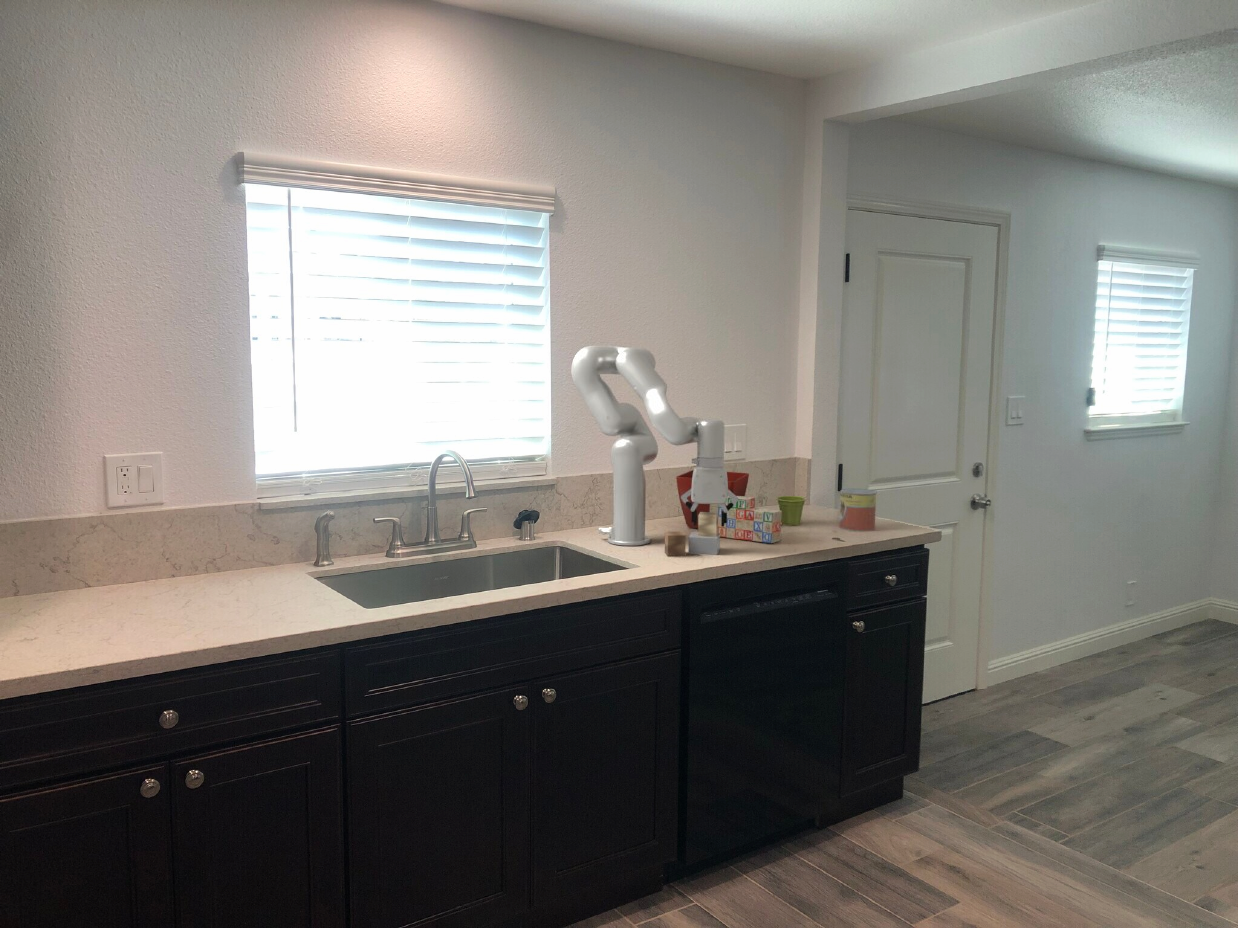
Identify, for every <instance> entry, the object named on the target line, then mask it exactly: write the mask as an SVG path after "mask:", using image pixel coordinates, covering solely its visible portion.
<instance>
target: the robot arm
mask: <svg viewBox="0 0 1238 928" xmlns="http://www.w3.org/2000/svg"><path fill="white" fill-rule="evenodd" d="M570 368H571V369H570V371H571V378H572V380H573V381H572V382H573V384H574V386H575V387H576V389H577V391H578V393H579V395H580V396H581V397H582V399H583V400H584V402H585V404H586V407H587V409H588V410H589V412H590V414H591V415H592V417H593V419H594V421H595V423H596V424H597V426H598V429H600V431H601V433H603V434H604V435H606V436H608V437H609V436H610V437H617V436H620V438H617V440H615V442H614V443H613V444H612V447H611V450H610V460H611V461H610V462H611V467H612V478H613V487H612V488H613V489H612V490H613V492H612V493H613V497H612V498H613V504H612V505H613V513H612V515H613V516H612V517H613V518H612V519H613V520H612V523H613V524H612V526H609V527H606V526H599V527H598V534H601V535H608V537H607V542H608V543H609V544H612V545H617V546H628V547H630V546H631V547H634V546H636V547H637V546H643V545H647V544H649V543H650V542H651V537H650V536H648V535H646V497H647V495H646V494H647V493H646V491H647V490H646V488H647V485H646V484H647V483H646V474H645V471H644V470H645V469H644V466H645V465H648V464H651V463H653V462H654V461H655V460H656V458H657V457H658V454H659V445H658V441H657V439H656V438H655V436H654V434H653V431H652V430H651V429H650V427H649V425H648V423H647V422H646V420H645V418H644V416H643V415H642V414H641V412H640V410H639V409H638V408H637V407H635V406H634V405H633V404H632V403H628V402H619V401H618V400H617V398H616V396H615V394H614V393H613V390H612V389H611V387H610V386H609V385H608V384H607V383H606V382H605V380H604V379H603V378H602V376H601V375H620V376H621V377H622V378H623V379H624V380H625V382H626V383H627V384H628V385H629V386H630V388H631V389H632V391H634V392H635V394H636V395H637V396H638V398H639V399H640V400H641V401H642V403H643V405H644V409H645V412H646V414H647V417H648V419H649V421H650V422H651V424H652V425H653V427H654V428H655V429H656V430H657V431H658V434H660V435H661V437H662V438H663V439H664V440H665V441H666V442H668V443H669V444H671V445H673V446H677V447H678V446H683V445H688V444H694V443H696V452H697V453H696V457H695V458H691V464H695V465H696V466H694V468H693V470H694V471H693V477H692V488H691V489H690V490H689V491H687V492H686V493H685V494H683V495H682V496H681V499H682V500H683V502H684V503H685V504H686V506H687V507H688V508H689V509H690V510H691V511H692V522H694V526H696V525H697V510H696V507H697V505H698V504H720V506H721V507H722V509H723V510H722V517H721V526H722V527H724V523H727V512H728V511H729V510H730V509H731V508H732V507H733V506H734V505H735V503H736V502H737V501H738V497H737V496H736V495H734V494H733V493H732V492H731V491H730V490H728V480H727V472H728V471H727V468H726V467H724V464H725V463H724V462H725V461H724V460H725V458H724V457H725V422H724V421H723V420H722V419H720V418H719V419H716V418H698V417H694V416H685V417H680V416H679V415H678V414H677V412H675V411H674V409H673V408H672V407H671V404H670V403H669V402H668V399H667V391H668V390H667V389H668V384H667V383H666V381H665V380H664V379H663V378H662V377H661V375H660V374H659V373H658V372H657V370H656V369H655V368H656V358H655V356H654V354H653V353H652V352H651V351H650V350H648V349H646V348H644V347H643V348H642V347H639V348H638V347H628V346H627V347H626V346H616V345H588V346H584V347H583V348H581V349H580V350H578V351H577V353H576V354H575V356H574V357H573V360H572V363H571V367H570ZM690 495H691V500H692V502H694V503H693V504H692V503H691V502H690V501H689V500H688V499H687V497H688V496H690ZM728 496H729V497H730V498H732V501H731V502H730V503H729V504H728V505H726V502H727V498H728Z"/></svg>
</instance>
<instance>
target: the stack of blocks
mask: <svg viewBox="0 0 1238 928" xmlns="http://www.w3.org/2000/svg"><path fill="white" fill-rule="evenodd" d="M737 497H738V501H737V502H736V503H735V505H734V506H733V507H732V508H731V509H730V510H729V511H728V512H727V523H724V527H722V526H721V517H722V510H723V509H722V507H721V506H720V504H710V512H716V513H718V517H717V533H720V538H721V537H722V538H728V539H736V540H744V541H745V540H746V541H753V542H758V543H759V542H760V543H767V544H774V543H777V542H780V541H781V531H782V530H781V528H782V524H781V516H782V511H780V509H779V510H778V509H769V508H762V507H755V505H756V503H755V502H756V497H750V496H745V497H743V496H737ZM731 501H732V498H730V497H729V496H728V498H727V502H726V505H728V504H729V503H730V502H731Z"/></svg>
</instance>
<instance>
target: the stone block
mask: <svg viewBox="0 0 1238 928" xmlns="http://www.w3.org/2000/svg"><path fill="white" fill-rule="evenodd" d="M720 542H721V537H720V533H717V535H716V537H709V536H698V531H691V533H690V534H689V536H688V554H690V555H691V554H692V555H707V556H717V555H718V554H719V551H720V549H721V548H720V547H721V545H720V544H721V543H720Z"/></svg>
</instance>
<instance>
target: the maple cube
mask: <svg viewBox="0 0 1238 928" xmlns="http://www.w3.org/2000/svg"><path fill="white" fill-rule="evenodd" d="M717 517H718V513H716V512H700V513H699V515H698V528H697V530H698V531H697V532H698V536H709V537H716V535H717Z"/></svg>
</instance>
